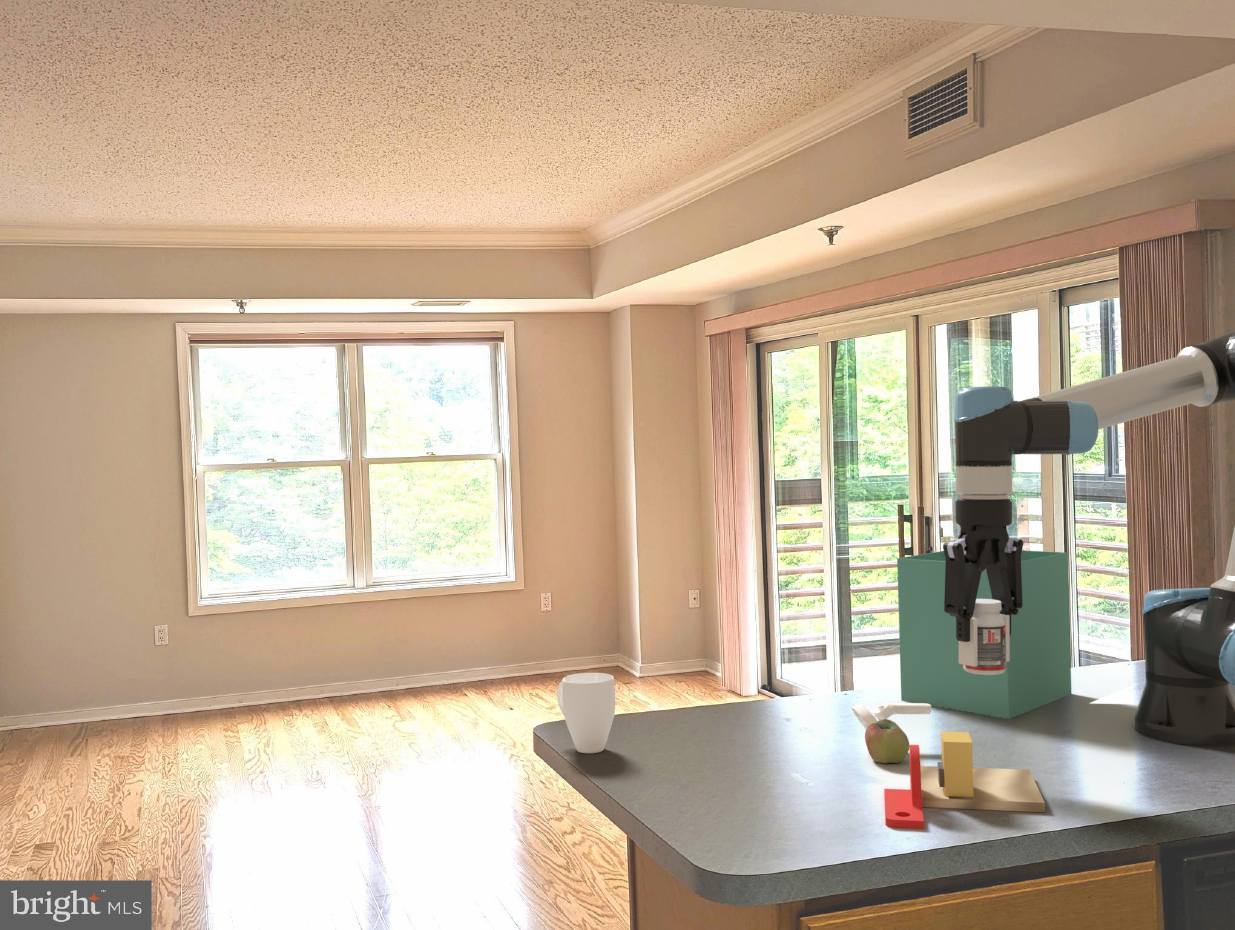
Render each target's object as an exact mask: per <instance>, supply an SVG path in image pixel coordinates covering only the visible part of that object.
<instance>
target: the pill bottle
mask: <svg viewBox="0 0 1235 930" xmlns="http://www.w3.org/2000/svg"><path fill="white" fill-rule="evenodd" d="M1001 610H1002V607H1001V601H999V600H994V599H976V602H975V607H974V612H973V617H972V618H975V619H977V657H978V666H974V667H973V666H969V665H964V664H963V669H964V670H965V671H967V672H969V673H973V674H980V675H997V674H1002V673H1004V672H1005V669H1006V654H1005V621H1004V619H1003V618H1002V617H1001V616H1000V614H999V612H1000V611H1001Z"/></svg>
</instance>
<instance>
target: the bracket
mask: <svg viewBox="0 0 1235 930" xmlns="http://www.w3.org/2000/svg"><path fill="white" fill-rule="evenodd" d="M920 766H921V752H920V745H919V744H909V780H910V781H909V783H910V789H903V788H901V789H900V788H884V789H883V792H884V793H883V795H884V796H883V797H884V800H883V801H884V820H885V821H884V824H885V827H887V828H891V829H902V830H903V829H904V830H905V829H906V830H907V829H908V830H925V821H924V814H923V807H922V797H921V767H920Z"/></svg>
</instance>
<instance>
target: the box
mask: <svg viewBox="0 0 1235 930" xmlns="http://www.w3.org/2000/svg"><path fill="white" fill-rule="evenodd" d="M1068 554H1069V553H1068V552H1067V551H1066V552H1062V551H1061V552H1060V551H1045V550H1043V551H1041V550H1023V549H1022V553H1021V573H1022V600H1023V606H1022V608H1020V609H1019V608H1017V609H1018V614H1017V615H1013V614H1011V635H1010V636H1009V637H1010V661H1008V662H1006V669H1005V672H1004V673H1002V674H997V675H980V674H973V673H969V672H967V671H965V670H964V669H963V664H959V641H957V638H956V617H954V616H951V615H950V614H949V613H945V611H944V597H945V566H946V558H945V554H944V550H940V551H936V552H929V553H923V554H915V555H911V556H904V557H898V558H896V562H897V564H896V565H897V567H896V568H897V594H898V596H897V598H898V603H897V604H898V630H899V631H898V633H899V635H898V636H899V663H900V665H899V666H900V696H901V697H900V699H901V701H902V702H903V701H904V702H907V703H927V704H930V705H931V707H937V706H938V708H942V707H944V708H943V709H948V708H952V709H951V710H954V709H958V710H957V711H960V710H962V711H961V712H965V711H967V712H966V713H971V712H975V713H974V714H977V713H978V714H977V715H983V714H985V715H984V716H988V715H993V716H992V717H994V716H996V718H1000V717H1002V718H1001V719H1006V718H1010V719H1013V718H1015V717H1018V716H1020V715H1022V714H1024V713H1027V712H1030V711H1033V710H1035V709H1038V708H1040V707H1043V706H1045V705H1048V704H1051V703H1052V702H1055V701H1057V700H1060V699H1062V698H1065V697H1067V696H1070V695H1072V671H1071V670H1072V666H1071V665H1072V662H1071V661H1072V660H1071V632H1070V631H1071V629H1070V626H1071V625H1070V591H1069V590H1070V588H1069V562H1068V561H1069V560H1068V559H1069V557H1068ZM976 599H992V594H991V590H990V585H989V580H988V576H987V571H986V569H985V570H984V571H983V572H982V573H981V578H980V583H979V587H978V592H977V597H976ZM1012 599H1014V598H1012ZM964 609H965V607H964ZM1032 709H1033V710H1032ZM1017 715H1018V716H1017ZM1012 717H1013V718H1012Z"/></svg>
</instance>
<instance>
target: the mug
mask: <svg viewBox="0 0 1235 930" xmlns="http://www.w3.org/2000/svg"><path fill="white" fill-rule="evenodd" d="M615 687H616V684H615V678H614V675H612V674H609V673H605V672H579V673H574V674H568V675H565V676H564V677H563V678H562V680H561V682H560V683H559V684H558V687H557V693H556V694H557V702H558V705H559V706H558V707H559V709H560V711H561V713H562V715H563V716H564V721H565V723H566V726H567V730H568V731H569V733H570V735H571V739H572V741H573V744H574V746H575V750H576V751H577V752H578V753H582V754H595V753H596V754H597V753H601V752H603V751H604V749H605V748H606V747H605V746H606V745H607V741H608V738H609V735H610V732H611V728H612V725H613V722H614V719H615V714H616V713H615V712H616V691H615V690H616V688H615Z"/></svg>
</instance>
